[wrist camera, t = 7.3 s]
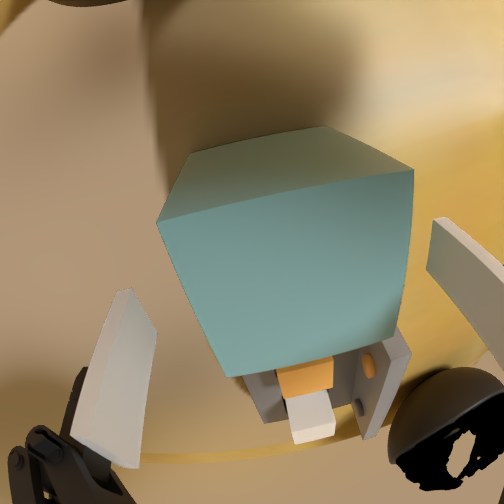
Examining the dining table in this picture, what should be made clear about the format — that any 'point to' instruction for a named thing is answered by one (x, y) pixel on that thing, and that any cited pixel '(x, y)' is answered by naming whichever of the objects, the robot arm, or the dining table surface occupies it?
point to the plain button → (311, 416)
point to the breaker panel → (346, 384)
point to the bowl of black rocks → (447, 426)
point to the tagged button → (306, 377)
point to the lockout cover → (290, 246)
